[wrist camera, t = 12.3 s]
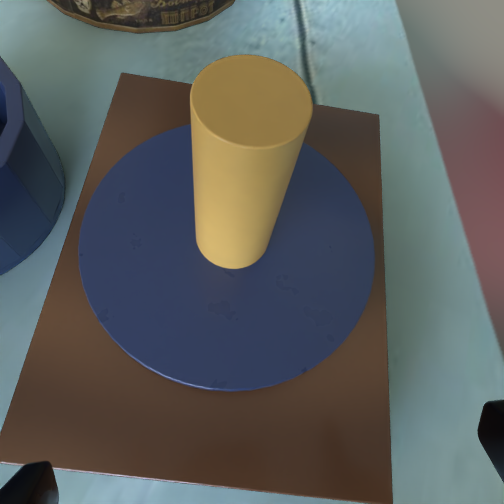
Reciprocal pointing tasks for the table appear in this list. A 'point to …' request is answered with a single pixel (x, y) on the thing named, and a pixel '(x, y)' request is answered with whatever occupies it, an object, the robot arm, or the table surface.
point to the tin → (25, 175)
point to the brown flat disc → (142, 13)
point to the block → (199, 400)
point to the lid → (229, 238)
